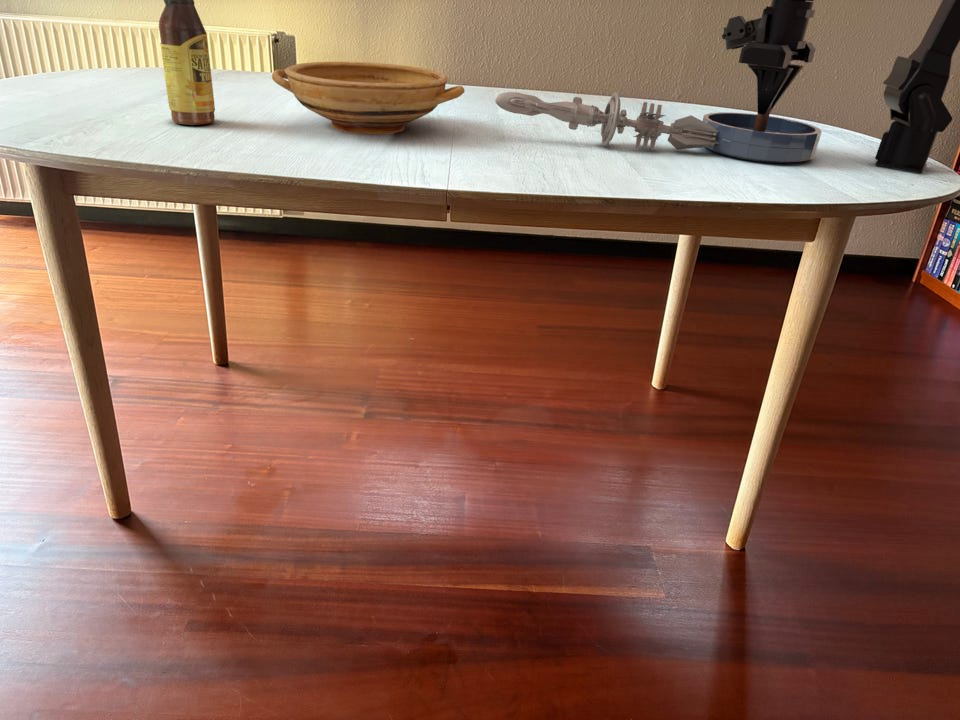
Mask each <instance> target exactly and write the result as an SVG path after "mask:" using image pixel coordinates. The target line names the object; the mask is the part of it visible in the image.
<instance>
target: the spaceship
mask: <svg viewBox="0 0 960 720" xmlns="http://www.w3.org/2000/svg"><path fill="white" fill-rule="evenodd" d="M494 99H495V100H494V101H495V104H496V105H497V106H498V107H499V108H500V109H502V110H504V111H507V112H509V113H513V114H516V115H517V114H518V115H524V116H530V117H533V116H537V115H542V114H544V115H549V116H550V117H552V118H555V119H557V120H559V121H561V122H564V123H568V129H570V130H573V131H575V130H577V129H578V128H579V125H581V126H586V127H588V128H589V127H591V128H593V127H595V126H597V125H600V136H601V145H602V146H603V147H608V146H609V144H610V143H611V141H612V140H613V138H614V136H615V134H616V131H617V134H623V133H624V130H625V128H627V127H628V128H633V129H634V132H635V133H638V134H635V135H632V137H633V138H635V139H636V140H635V148H636V149H640V147H641V142H642V139H643V142H642V150H647V148H648V144H649V141H650V144H649V151H652V152H653V151H654V150H655V148H656V147H655V146H656V142H657V140H658V139H659V137H661V136H662V134H666V135H668V138H667V142H668V143H669V144H670V145H671V146H673V148H675V149H676V150H677V151H678V150H690V149H701V148H706V146H714V144H720V143H719V142H717V141H716V140H715V139H716V137H715V136H716V135H717V133H718V130H716V129H715V128H714V127H713V126H711V125H709V124H707V123H705V122H703V120H701V119H699V118H698V117H696V116H694V115H692V114H690V115H688V116H684V117H681V118H678V119H675V120H674V122H671V123H670V125H667V124H664V121H663V120H660V119H663V117H666V115H665V114H662V108H663V105H662V104H657V106H656V107H657V108H656V112H655V103H652V102H651V103H650V105H649V110H648V111H647V108H648V101H643V102H642V107H641V112H640V113H639V115H638V116H637V117H636V119H631V118H628V117H627V115H628V114H627V110H626V109H621V98H620V93H619V92H618V91H615V92H613V93H612V95H611V97H610V99H609V100H608V102H607V104H606V106H605V109H604V111H602V110H600V108H599V107H598V106H596V105H594V104H590V105H589V104H584V103H583V99H582V97H580V96H574V97H573V99H572V101H556V102H546V101H544V100H542V99H541V98H539V97H538V96H536V95H532V94H526V93H522V92H515V91H508V92H502V93H500V94H497V96H496V97H495V98H494ZM654 112H655V113H654Z"/></svg>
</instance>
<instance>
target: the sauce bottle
mask: <svg viewBox="0 0 960 720" xmlns="http://www.w3.org/2000/svg"><path fill="white" fill-rule="evenodd" d="M163 2H164V4H165V5H164V8H163V10H162V12H161V14H160V17H159V20H158V30H159V37H160V50H161V51H160V52H161V59H162V60H161V61H162V66H163V73H164V74H163V75H164V81H165V88H166V95H167V103H168V108H169V110H170V115H171V120H172V122H174V123H175V124H177V125H178V124H179V125H187V126H197V125H199V126H201V125H208V124H212V123H214V121H215V112H216V106H215V97H214V96H215V95H214V88H213V79H212V69H211V60H210V59H211V58H210V50H209V42H208V33H207V32H206V28H205V26H204V25H203V22H202V20H201V18H200V16H199V15H200V14H199V13H198V10H197V8H196V6H195V0H163Z"/></svg>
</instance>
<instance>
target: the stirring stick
mask: <svg viewBox="0 0 960 720" xmlns="http://www.w3.org/2000/svg"><path fill="white" fill-rule="evenodd" d="M771 107H772V104H771V106H770V107H769V109H768V111H767V112H766V114H764V115H763V114H758V112H757V113H756V114H757V117H756V121H755V125H754V129H753V130H755V131H763V132H765V130H766V126H767V122H768V118H769V116H771V115H770V114H771V112H772V110H771ZM770 111H771V112H770Z"/></svg>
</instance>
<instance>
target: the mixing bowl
mask: <svg viewBox="0 0 960 720" xmlns="http://www.w3.org/2000/svg"><path fill="white" fill-rule="evenodd" d="M756 117H757V113H747V112H727V111H725V112H720V111H719V112H709V113H705V114H703V116H702V121H703V122H705V123H707V124H709V125H711V126H713V127H714V128H715V129H716V130H718V133H717V135H716V136H715V137H716V139H715V140H716V141H717V142H719V143H720V144H714V146H706V147H705V148H706V149H709V150H711V151H712V152H714V153H716V154H720V155H723V156H727V157H730V158H734V159H739V160H745V161H751V162H758V163H759V162H760V163H768V164H792V163H797V162H800V163H801V162H806V161H811V160H812V159H814V158H815V156H816V152H817V149H818V145H819V142H820V138H821V136H822V133H823V132H822V130H821V128H820V127H818V126H815V125H814V124H813V125H812V124H809V123H807V122H803V121H800V120H799V121H798V120H794V119H789V118H784V117H779V116H773V115H769V118H768V122H767V126H766V130H765V132H763V131H755V130H753V129H754V125H755V121H756Z"/></svg>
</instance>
